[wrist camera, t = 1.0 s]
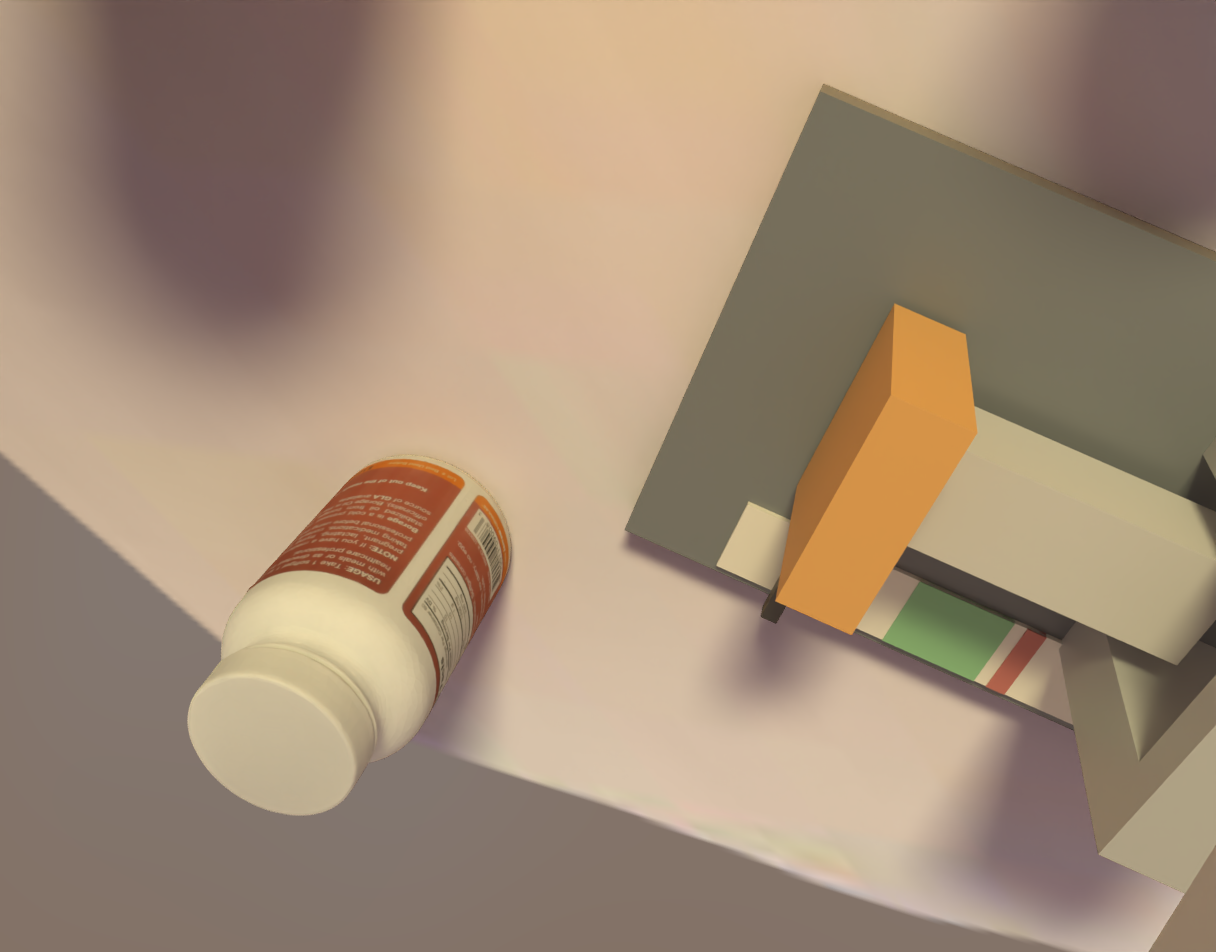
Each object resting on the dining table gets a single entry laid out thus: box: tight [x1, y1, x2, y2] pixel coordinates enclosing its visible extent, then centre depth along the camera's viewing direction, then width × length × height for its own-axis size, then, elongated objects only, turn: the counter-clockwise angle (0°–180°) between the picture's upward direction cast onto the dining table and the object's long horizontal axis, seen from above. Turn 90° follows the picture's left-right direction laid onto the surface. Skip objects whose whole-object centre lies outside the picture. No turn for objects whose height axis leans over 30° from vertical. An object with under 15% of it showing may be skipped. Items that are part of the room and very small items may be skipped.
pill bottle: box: [188, 455, 511, 815], centre depth 33 cm, size 6×6×11 cm
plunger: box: [761, 303, 1216, 665], centre depth 29 cm, size 10×10×6 cm
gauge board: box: [625, 84, 1216, 893], centre depth 28 cm, size 19×14×9 cm
